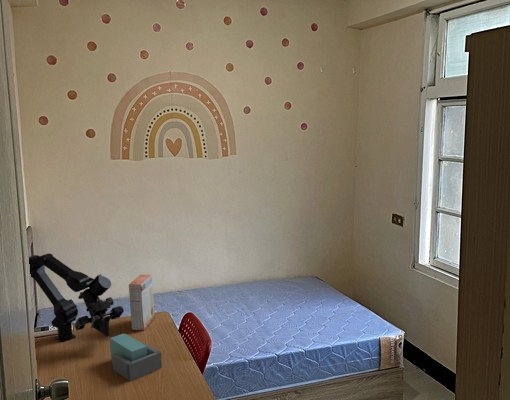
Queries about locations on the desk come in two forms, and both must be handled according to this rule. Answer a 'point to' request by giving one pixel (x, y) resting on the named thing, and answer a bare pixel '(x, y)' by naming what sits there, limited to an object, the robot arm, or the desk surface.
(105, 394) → the desk surface
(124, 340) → the teal block
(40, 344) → the desk surface
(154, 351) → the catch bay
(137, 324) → the cracker box
